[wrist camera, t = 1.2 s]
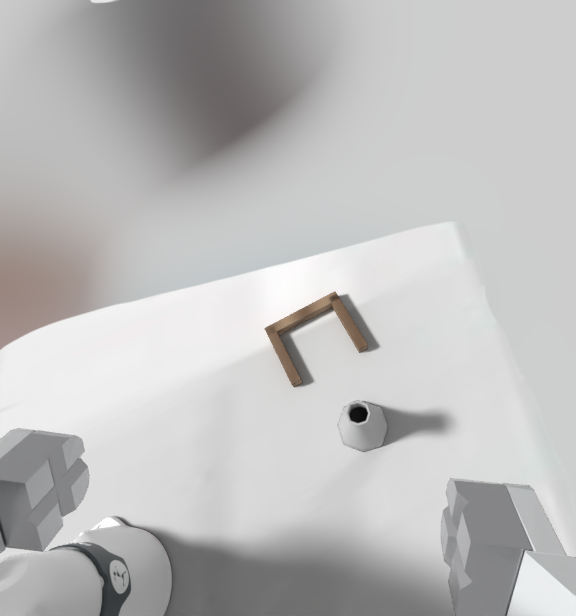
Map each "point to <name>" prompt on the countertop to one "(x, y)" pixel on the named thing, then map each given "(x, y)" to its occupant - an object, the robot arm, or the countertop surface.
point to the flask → (362, 426)
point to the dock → (303, 316)
